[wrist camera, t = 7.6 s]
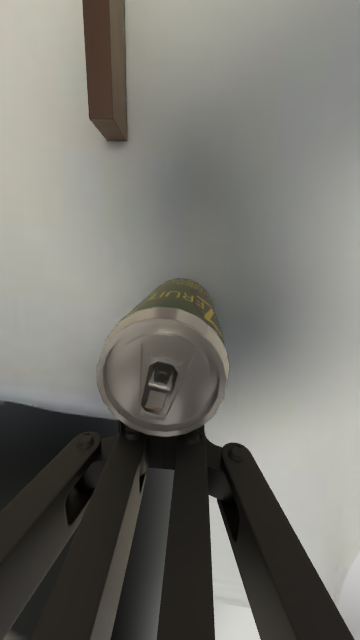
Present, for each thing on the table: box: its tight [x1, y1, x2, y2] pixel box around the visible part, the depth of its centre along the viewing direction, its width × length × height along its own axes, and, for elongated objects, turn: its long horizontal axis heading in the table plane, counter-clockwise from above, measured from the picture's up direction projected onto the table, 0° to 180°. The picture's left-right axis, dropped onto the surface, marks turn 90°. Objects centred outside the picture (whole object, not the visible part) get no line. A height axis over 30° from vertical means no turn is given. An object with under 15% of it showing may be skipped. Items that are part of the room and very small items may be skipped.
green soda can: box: [97, 279, 229, 437], centre depth 15 cm, size 5×5×12 cm
